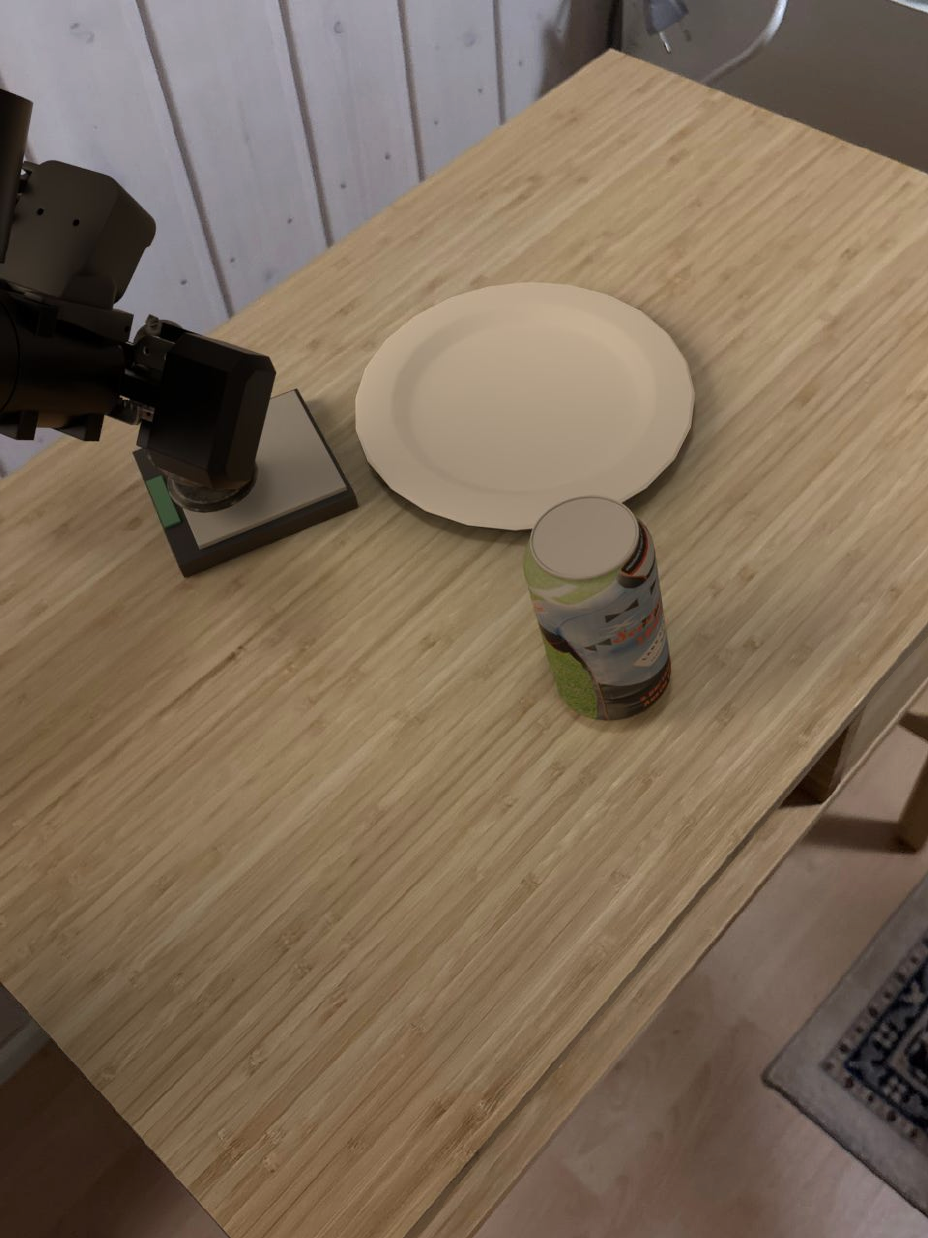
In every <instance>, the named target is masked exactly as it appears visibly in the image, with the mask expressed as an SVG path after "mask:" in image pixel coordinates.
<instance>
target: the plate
mask: <svg viewBox="0 0 928 1238" xmlns="http://www.w3.org/2000/svg"><path fill="white" fill-rule="evenodd" d="M695 398H696V392H695V387H694V384H693V380H692V375H691V372H690V367H689V362H688V361H687V360H686V358H685V357H684V354H683V353H682V351H681V350H680V349H679V347H678V345H677V344H676V342H675V341H674V339H673V338H672V337H671V335H670V334H669V333H668V332H667V331H666V330H665V329H663V327H662V326H660V325H659V324H657V322H656V321H654V320H653V319H652V318H650V317H649V316H648V315H647V314H646V313H645V312H643V311H642V310H640V309H638V308H636V307H634V306H632V305H630V304H628V303H626V302H623V301H622V300H620V299H618V298H616V297H613V296H611V295H610V294H607V293H603V292H600V291H595V290H592V289H587V288H583V287H581V286H576V285H572V284H567V283H553V282H552V283H551V282H535V281H534V282H533V281H525V282H516V283H515V282H514V283H507V284H498V285H490V286H489V285H488V286H485V287H482V288H478V289H475V290H471V291H468V292H465V293H462V294H457V295H455V296H451V297H449V298H447V299H445V300H443V301H440V302H439V303H437V304H435V305H433V306H430V307H429V308H427V309H426V310H423V311H421V312H419V313H417V314H415V315H414V316H413V317H412V318H410V319H409V320H408V321H406V322H405V323H404V324H403V325H402V326H400V328H398V329H397V330H396V331H394V332H393V333H392V334H391V335H389V336H388V337H387V338H386V339H385V341H384V342H383V343H382V345H381V346H380V347H379V349H378V350H377V351H376V352H375V354H374V356H373V357H372V358H371V360H370V361H369V363H368V364H367V365H366V366H365V369H364V372H363V374H362V377H361V380H360V384H359V386H358V389H357V392H356V395H355V398H354V399H355V400H354V401H355V403H354V406H355V408H354V409H355V410H354V411H355V432H356V436H357V437H358V440H359V442H360V445H361V447H362V450H363V452H364V455H365V458H366V460H367V463H368V464H369V466H370V467H371V468H372V469H373V470H374V471H375V473H376V474H377V475H378V476H379V478H381V480H382V481H383V482H384V483H385V485H387V487H388V488H389V489H390V490H391V492H393V493H395V494H396V495H397V496H399V497H401V498H402V499H404V500H406V501H407V502H408V503H410V504H411V505H413V506H415V507H416V508H418V509H419V510H421V511H422V512H424V513H426V514H428V515H431V516H434V517H437V518H441V519H443V520H446V521H449V522H452V523H455V524H458V525H460V526H464V527H467V528H473V529H482V530H483V529H484V530H493V531H503V532H512V533H513V532H514V533H518V532H528V531H532V529H533V527H534V525H535V523H536V522H537V520H538V519H539V518H540V517H541V516H542V515H543V514H544V513H545V512H546V511H547V510H548V509H550V508H551V507H553V506H554V505H556V504H558V503H560V502H562V501H564V500H567V499H570V498H574V497H579V496H587V495H595V496H604V497H608V498H611V499H614V500H617V501H618V502H620V503H622V504H625V503H627V502H628V501H630V500H631V499H633V498H635V497H636V496H639V495H640V494H642V493H644V492H645V491H647V490H648V489H649V488H650V487H651V486H652V484H654V483H655V481H657V480H658V478H660V476H662V475H663V474H664V472H665V471H667V469H668V468H669V467H670V466H671V465H672V464H673V463H674V462H675V460H676V458H677V457H678V455H679V452H680V451H681V449H682V447H683V445H684V443H685V441H686V439H687V437H688V435H689V433H690V431H691V429H692V421H693V416H694V415H693V414H694V406H695Z"/></svg>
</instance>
